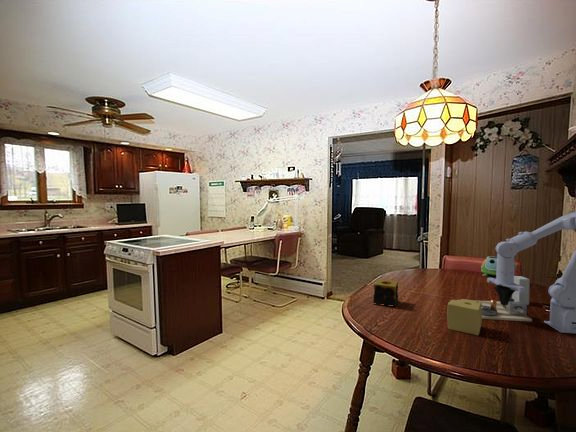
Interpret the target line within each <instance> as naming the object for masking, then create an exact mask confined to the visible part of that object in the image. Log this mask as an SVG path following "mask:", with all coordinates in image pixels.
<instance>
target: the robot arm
mask: <svg viewBox="0 0 576 432" xmlns="http://www.w3.org/2000/svg"><path fill="white" fill-rule="evenodd" d="M562 230H565V231H566V230H568V231H569V230H572V231H574V232H575V233H576V211H572V212H570V213H568V214H566V215H565V214H564V215H562V216H560V217H558V218H555V219H554V220H552V221H550V222H548V223H546V224H544V225H543V226H541V227H538V228H537V229H536V230H533V231H531V232H530V231H519V232H518V233H517V235H515V236H513V237H511V238H506V239H505V241H500V242H497V245H496V246H495V247H494V250H495V252H496V254H497V255H496V257H497V268H496V275H495V278H494V277H487V278H486V282H487V283H489V284H494V285H495V286H494V287H493V289H494V290H495V291H496V294H497V295H498V298H499V299H498V300H499V302H500V303H501V304H502V305H508V303H509V300H510V298H512V294H513V293H514V292H515V291H518V292H520V293H522V292H525V287H522V286H520V285H517V284H515V283H514V276H515V270H514V263H515V256H516V255H517V254H518V253H519V252H522V251H524V250H526V249H529V248H531V247H533V246H534V245H537V242H538V241H539V239H542V238H545V237H547V236H549V235H552V234H554V233H556V232H558V231H562ZM548 295H549V296H550V297H551V299H550V304H549V305H550V307H549V320H544V321H543V323H544V324H547V325H549V327H552V328H553V329H555V330H557V332H559V333H563V334H576V249H575V250H574V252H573V254H572V255H571V257H570V260H569V262H568V264H567V266H566V267H565V269H564V271H563V273H562V275H561V277H559V278H557V279H556V280H555V283H553V284H551V285H550V286H549V288H548Z"/></svg>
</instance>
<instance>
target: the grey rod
mask: <svg viewBox="0 0 576 432" xmlns="http://www.w3.org/2000/svg"><path fill="white" fill-rule="evenodd" d="M509 301H511V302H515V301H514V299H513V298H512V297H511V298H510V300H509ZM503 307H504V308H505V309H506V305H503ZM515 309H516V310H517V311H519V312H520V313H524V310H522V309H521V308H519V307H518V306H515Z"/></svg>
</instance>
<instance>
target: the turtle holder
mask: <svg viewBox="0 0 576 432" xmlns="http://www.w3.org/2000/svg"><path fill="white" fill-rule="evenodd" d="M480 267H481V269H480V271H481V273H483V274H482V276H483V277H488V276H489V275H492V276H496V268H497V256H493V255H491V256H490V255H489V256H488V255H487V257H486V258H485V259H484V260H483V261H482V262H481V266H480ZM515 269H517V264H516V262H514V271H515Z"/></svg>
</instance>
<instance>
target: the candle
mask: <svg viewBox="0 0 576 432" xmlns="http://www.w3.org/2000/svg"><path fill="white" fill-rule="evenodd" d="M373 290H374V292H373V297H372V298H373V299H372V300H373V301H372V302H373V303H376V304H384V305H393V306H395V305H396V303H397V304H398V302H399V293H398V292H399V291H398V290H399V281H396V280H389V279H388V280H386V279H377V280H376V281H375V282H374V283H373ZM397 301H398V302H397ZM373 303H372V304H373ZM396 306H397V305H396ZM396 306H395V307H396Z"/></svg>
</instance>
